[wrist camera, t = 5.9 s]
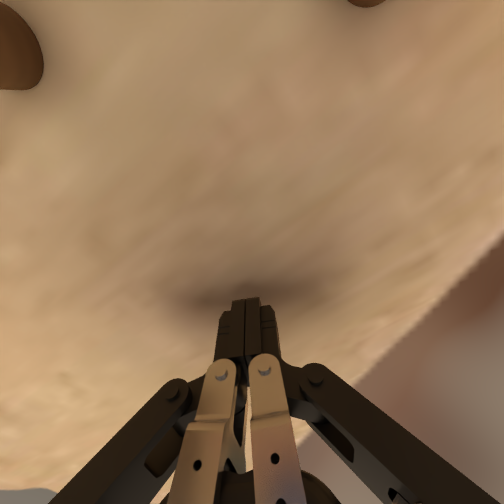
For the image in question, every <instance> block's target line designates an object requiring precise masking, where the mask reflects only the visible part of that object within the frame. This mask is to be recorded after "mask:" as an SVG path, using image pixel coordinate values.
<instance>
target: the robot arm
mask: <svg viewBox="0 0 504 504" xmlns="http://www.w3.org/2000/svg"><path fill="white" fill-rule="evenodd" d="M217 335H218V336H217V340H216V347H215V355H214V361H213V363H212V364H211V365H210V366H209V368H208V369H207V372H206V374H204V375H203V376H201V377H199V378H197V379H195V380H193V381H191V382H188V383H187V382H186V381H185V380H183V379H180V378H177V379H173V380H170V381H168V382H167V383H166V384H165V385H163V386H162V387H161V389H160V390H159V391H158V392H157V393H156V394H155V395H154V396H153V397H152V398H151V399H150V400H149V401H148V402H147V403H146V404H145V405H144V406H143V407H142V408H141V409H140V410H139V411H138V412H137V413H136V414H135V415H134V416H133V417H132V418H131V419H130V420H129V421H128V422H127V423H126V424H125V425H124V426H123V427H122V428H121V429H120V430H119V431H118V432H117V433H116V435H115V436H114V437H113V438H112V439H111V440H110V441H109V442H108V443H107V444H106V445H105V446H104V447H103V448H102V449H101V450H100V451H99V452H98V453H97V454H96V455H95V456H94V457H93V458H92V459H91V460H90V461H89V462H88V463H87V464H86V465H85V466H84V467H83V468H82V469H81V470H80V471H79V472H78V473H77V474H76V475H75V476H74V477H73V478H72V480H71V481H70V482H69V483H68V484H67V485H66V486H65V487H64V488H63V489H62V490H61V491H60V492H59V493H58V494H57V495H56V496H55V497H54V498H53V499H52V500H51V501H50V502H49V503H48V504H150V502H151V501H152V500H153V498H154V497H155V496H156V494H157V493H158V492H159V490H160V489H161V488H162V486H163V485H164V484H165V482H166V481H167V480H168V478H169V477H170V476H171V474H172V473H173V472H174V470H175V469H176V470H175V474H174V478H173V482H172V485H171V489H170V492H169V493H168V494H167V495H166V496H165V498H164V499H163V500H162V501H161V502H160V504H341V503H340V502H339V501H338V499H337V498H336V497H335V496H334V494H333V493H332V492H331V490H330V489H329V488H328V487H327V486H326V485H325V484H324V483H323V482H321V481H320V480H319V479H318V478H317V477H315V476H313V475H312V474H310V473H308V472H306V471H303V470H301V468H300V463H299V458H298V453H297V448H296V443H295V438H294V433H293V428H292V423H291V418H290V416H291V417H295V418H299V419H302V420H306V422H307V423H308V425H309V426H310V427H311V428H312V429H313V430H314V431H315V432H316V433H317V434H318V435H319V436H320V437H321V438H322V439H323V440H324V441H325V443H326V444H327V445H328V446H329V447H330V448H331V449H332V450H333V451H334V452H335V453H336V454H337V455H338V456H339V457H340V458H341V459H342V460H343V461H344V463H345V464H346V465H347V466H348V467H349V468H350V469H351V470H352V471H353V472H354V473H355V474H356V475H357V476H358V477H359V478H360V479H361V480H362V481H363V482H364V484H365V485H366V486H367V487H368V488H369V489H370V490H371V491H372V492H373V493H374V494H375V495H376V496H377V497H378V498H379V499H380V500H381V501H382V502H383V503H384V504H500V503H499V502H498V501H496V500H495V499H494V498H493V497H491V496H490V495H488V493H486V492H485V491H484V490H482V489H481V488H480V487H479V486H477V485H476V484H475V483H474V482H472V481H471V480H470V479H468V478H467V477H466V476H465V475H463V474H462V473H461V472H459V471H458V470H457V469H456V468H454V467H453V466H452V465H451V464H449V463H448V462H447V461H445V460H444V459H443V458H442V457H440V456H439V455H438V454H436V453H435V452H434V451H433V450H431V449H430V448H429V447H428V446H426V445H425V444H424V443H422V442H421V441H420V440H419V439H417V438H416V437H415V436H413V435H412V434H411V433H410V432H408V431H407V430H406V429H405V428H403V427H402V426H401V425H400V424H398V423H397V422H396V421H394V420H393V419H392V418H391V417H389V416H388V415H387V414H385V413H384V412H383V411H381V410H380V409H379V408H378V407H376V406H375V405H374V404H373V403H371V402H370V401H369V400H368V399H366V398H365V397H364V396H362V395H361V394H360V393H359V392H357V391H356V390H355V389H354V388H352V387H351V386H350V385H348V384H347V383H346V382H345V381H343V380H342V379H341V378H340V377H338V376H337V375H336V374H334V373H333V372H332V371H331V370H329V369H328V368H327V367H325V366H324V365H322V364H319V363H310V364H307V365H305V366H304V367H303V368H299V367H294V366H291V365H289V364H287V363H286V362H284V361H283V360H282V358H281V351H280V343H279V334H278V328H277V322H276V317H275V312H274V310H273V309H272V307H271V306H270V305H267V306H261V301H260V297H254V298H248V299H241V300H234V301H232V307H231V311H224V313H223V314H222V316H221V317H220V319H219V326H218V333H217ZM247 387H250V396H251V409H252V418H251V420H250V429H251V444H252V459H253V470H251V471H248V472H246V460H245V438H246V425H247V412H248V400H247Z"/></svg>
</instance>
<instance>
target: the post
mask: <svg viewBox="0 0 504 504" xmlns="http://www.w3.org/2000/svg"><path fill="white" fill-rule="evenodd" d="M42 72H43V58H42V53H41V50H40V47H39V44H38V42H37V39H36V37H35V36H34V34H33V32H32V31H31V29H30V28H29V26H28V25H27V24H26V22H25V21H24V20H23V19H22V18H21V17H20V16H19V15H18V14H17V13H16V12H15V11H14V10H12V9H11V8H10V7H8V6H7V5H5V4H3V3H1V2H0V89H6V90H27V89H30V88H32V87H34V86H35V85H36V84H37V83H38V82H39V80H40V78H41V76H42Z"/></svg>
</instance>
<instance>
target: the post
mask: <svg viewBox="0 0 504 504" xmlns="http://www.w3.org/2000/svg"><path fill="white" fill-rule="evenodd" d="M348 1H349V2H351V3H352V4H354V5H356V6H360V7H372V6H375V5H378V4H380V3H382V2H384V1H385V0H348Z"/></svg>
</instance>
